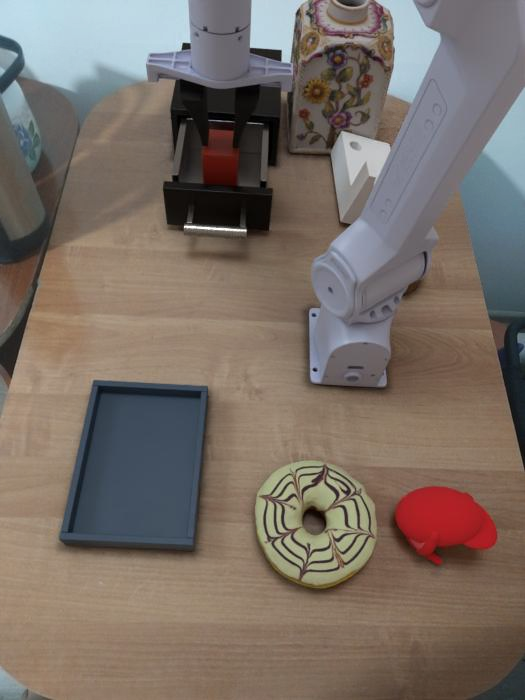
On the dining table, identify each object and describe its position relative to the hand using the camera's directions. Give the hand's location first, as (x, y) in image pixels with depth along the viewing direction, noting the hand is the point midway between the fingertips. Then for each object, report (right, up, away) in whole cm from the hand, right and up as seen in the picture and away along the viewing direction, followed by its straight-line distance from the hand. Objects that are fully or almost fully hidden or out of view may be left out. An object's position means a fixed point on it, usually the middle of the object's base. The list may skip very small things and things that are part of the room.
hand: (220, 141), depth 63 cm
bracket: (+18, -3, +11) cm, 22 cm away
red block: (0, -4, +6) cm, 7 cm away
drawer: (0, -5, +7) cm, 9 cm away
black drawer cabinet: (0, +8, +16) cm, 18 cm away
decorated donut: (+9, -40, -13) cm, 43 cm away
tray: (-7, -34, -11) cm, 37 cm away
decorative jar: (+14, +8, +17) cm, 23 cm away
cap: (+20, -40, -12) cm, 47 cm away
